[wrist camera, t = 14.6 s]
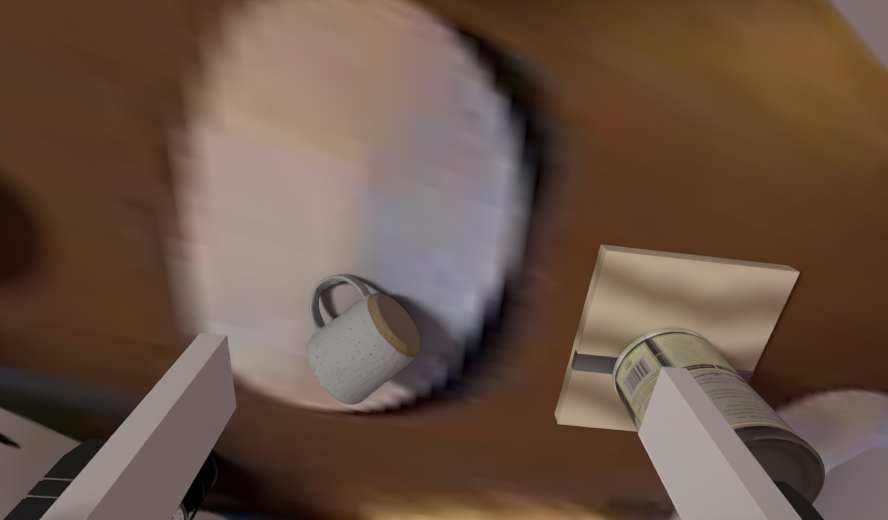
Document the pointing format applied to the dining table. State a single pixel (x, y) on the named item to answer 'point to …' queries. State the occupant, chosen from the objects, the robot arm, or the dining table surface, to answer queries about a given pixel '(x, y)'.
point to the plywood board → (666, 319)
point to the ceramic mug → (360, 343)
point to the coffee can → (718, 403)
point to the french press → (198, 489)
